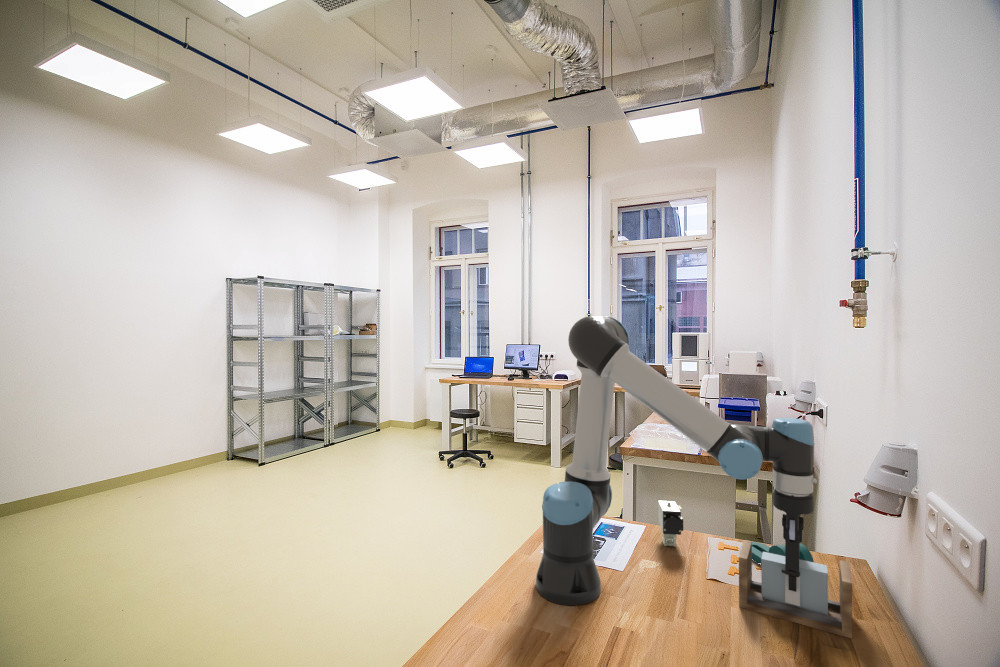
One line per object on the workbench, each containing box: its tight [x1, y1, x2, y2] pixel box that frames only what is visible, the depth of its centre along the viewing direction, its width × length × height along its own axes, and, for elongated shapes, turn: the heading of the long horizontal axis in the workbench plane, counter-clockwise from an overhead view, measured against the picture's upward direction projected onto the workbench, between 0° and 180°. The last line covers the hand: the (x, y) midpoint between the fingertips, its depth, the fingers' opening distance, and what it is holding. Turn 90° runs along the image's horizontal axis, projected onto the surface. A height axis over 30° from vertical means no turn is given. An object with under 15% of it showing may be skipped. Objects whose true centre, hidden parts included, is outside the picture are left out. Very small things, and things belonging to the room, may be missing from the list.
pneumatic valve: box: [657, 499, 684, 547], centre depth 134 cm, size 6×12×12 cm, turn 170°
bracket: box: [752, 541, 815, 564], centre depth 122 cm, size 18×7×8 cm, turn 11°
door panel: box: [760, 552, 829, 615], centre depth 103 cm, size 12×4×9 cm, turn 57°
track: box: [738, 539, 853, 639], centre depth 103 cm, size 20×10×11 cm, turn 57°
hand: (792, 597), depth 103 cm, fingers open, 4 cm apart
